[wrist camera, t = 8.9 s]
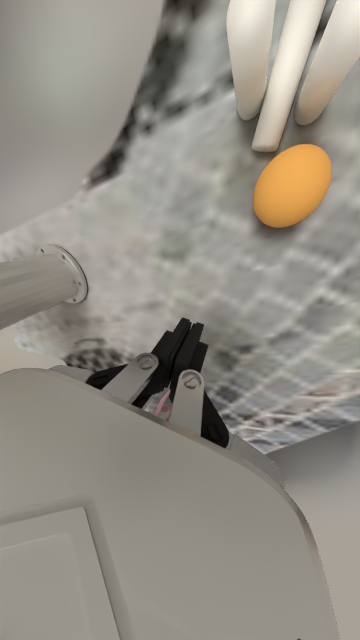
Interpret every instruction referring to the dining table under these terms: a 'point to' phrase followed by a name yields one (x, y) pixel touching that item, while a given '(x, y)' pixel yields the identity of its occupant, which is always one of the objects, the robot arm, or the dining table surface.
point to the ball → (292, 185)
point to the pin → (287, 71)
